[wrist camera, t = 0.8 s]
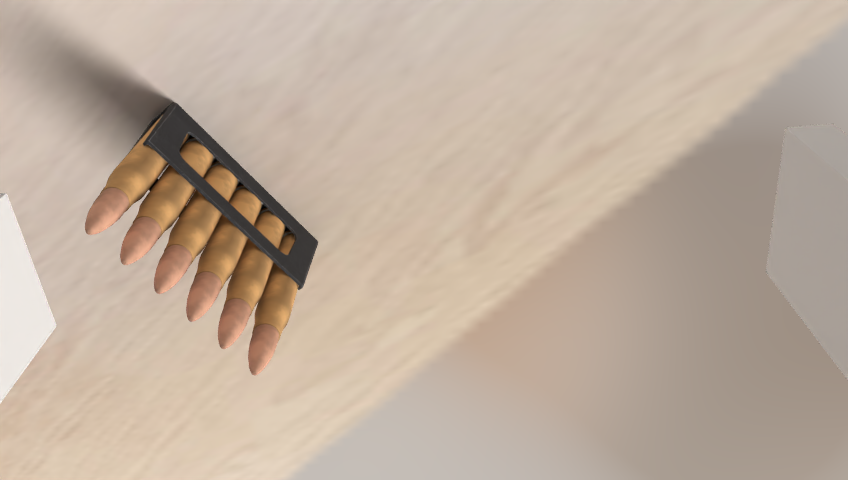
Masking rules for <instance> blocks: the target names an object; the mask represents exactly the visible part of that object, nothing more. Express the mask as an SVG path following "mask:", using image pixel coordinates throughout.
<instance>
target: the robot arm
mask: <svg viewBox="0 0 848 480" xmlns="http://www.w3.org/2000/svg"><path fill="white" fill-rule="evenodd" d="M766 273H767V274H768V276H769V277H770V278H771V279H772V281H773V282H774V283H775V284H776V286H777V287H778V289H779V290H780V291H781V293H782V294H783V295H784V297H785V298H786V299H787V301H788V302H789V303H790V305H791V306H792V307H793V309H794V310H795V311H796V313H797V314H798V315H799V316H800V318H801V319H802V320H803V322H804V323H805V324H806V326H807V327H808V328H809V330H810V331H811V332H812V334H813V335H814V336H815V338H816V339H817V340H818V342H819V343H820V344H821V345H822V347H823V348H824V349H825V351H826V352H827V353H828V355H829V356H830V357H831V358H832V360H833V361H834V363H835V364H836V365H837V366H838V368H839V369H840V371H841V372H842V373H843V375H844V376H845V377H846V379H847V380H848V135H847V134H846V133H845V132H843V131H842V130H841V129H839V128H838V127H837V126H835V125H834V124H823V125H812V126H799V127H787V128H785V134H784V142H783V149H782V156H781V163H780V171H779V178H778V186H777V193H776V200H775V208H774V216H773V223H772V231H771V238H770V245H769V252H768V260H767V268H766ZM56 326H57V325H56V323H55V320H54V318H53V315H52V312H51V310H50V307H49V304H48V302H47V299H46V296H45V294H44V291H43V288H42V286H41V283H40V280H39V278H38V275H37V272H36V270H35V267H34V264H33V262H32V259H31V256H30V254H29V251H28V249H27V246H26V243H25V241H24V238H23V235H22V233H21V230H20V227H19V225H18V222H17V219H16V217H15V214H14V211H13V209H12V206H11V203H10V201H9V198H8V195H7V193H0V403H1V402H2V400H3V399H4V398H5V396H6V395H7V393H8V392H9V391H10V389H11V388H12V387H13V385H14V384H15V382H16V381H17V380H18V378H19V377H20V376H21V374H22V373H23V371H24V370H25V369H26V367H27V366H28V365H29V363H30V362H31V360H32V359H33V358H34V356H35V355H36V354H37V352H38V351H39V350H40V348H41V347H42V345H43V344H44V343H45V341H46V340H47V339H48V337H49V336H50V334H51V333H52V332H53V330H54V329H55V328H56Z"/></svg>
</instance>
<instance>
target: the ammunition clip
mask: <svg viewBox="0 0 848 480" xmlns="http://www.w3.org/2000/svg"><path fill="white" fill-rule="evenodd" d="M168 164H170V165H169V166H168V167H167V169H166V170H165V172H164V173H163V174H162V176H161V177H160V179H159V180H158V179H157V178H158V177H159V175H160V174H161V173H162V171H163V170H164V169H165V167H166V166H167V165H168ZM148 190H150V192H149V194H148V195H147V196H146V198H145V199H144V201H143V202H142V203H141V205H140V208H139V212H138V215H137V217H136V218H135V220H134V221H133V224H132V226H131V227H130V229H129V230H128V232H127V234H126V236H125V238H124V241H123V244H122V248H121V254H120V258H121V262H122V264H124V265H128V264H131V263H133V262H135V261H137V260H138V259H140V258H141V257H143V256H144V255H145V254H146V253H147V252H148V251H149V250H150V249H151V248H152V247H153V245H154V244H155V243H156V241H157V240H158V239H159V238H160V237H161V235H162V234H163V233H164V231H166V230H167V229H168V228H170V227H171V226H172V225H173V223H174V222H175V221H176V220H177V218H178V217H179V219H178V220H177V222H176V224H175V225H174V227H173V229H172V230H171V233H170V237H169V241H168V244H167V246H166V248H165V250H164V253H163V255H162V257H161V259H160V261H159V263H158V266H157V269H156V273H155V278H154V288H155V291H156V293H158V294H161V293H164V292H166V291H168V290H169V289H171V288H172V287H173V286H174V285H175V284H176V283H177V282H178V281H179V280H180V279H181V278H182V276H183V275H184V274H185V272H186V271H187V269H188V267H189V266H190V265H191V263H192V262H193V260H194V259H195V257H196V256H197V255H199V254H200V253H201V251H202V250H203V249H204V248H205V249H204V250H203V252H202V254H201V257H200V259H199V263H198V270H197V273H196V275H195V278H194V281H193V284H192V286H191V288H190V292H189V295H188V299H187V307H186V312H187V317H188V320H189V321H191V322H193V321H195V320H197V319H199V318H200V317H202V316H203V315H204V314H205V313H206V312H207V311H208V309H209V308H210V307H211V306H212V304H213V303H214V301H215V300H216V298H217V296H218V294H219V292H220V290H221V289H222V287H223V285H224V284H225V282H226V281H227V280H228V278H229V277H230V276H231V275H232V277H231V279H230V281H229V284H228V288H227V298H226V301H225V304H224V309H223V311H222V314H221V318H220V322H219V327H218V340H219V344H220V347H221V348H222V349H226V348H228V347H229V346H231V345H232V344H233V343H234V342H235V341H236V340H237V338H238V337H239V336H240V335H241V333H242V331H243V330H244V328H245V326H246V324H247V322H248V319H249V317H250V315H251V313H252V311H253V309H254V307H255V305H256V304H257V303H258V305H257V308H256V311H255V325H254V328H253V332H252V333H253V335H252V338H251V341H250V346H249V354H248V360H249V368H250V371H251V373H252V375H257V374H259V373H260V372H261V371H262V370H263V369H264V368H265V367H266V365H267V364H268V363H269V361H270V360H271V358H272V356H273V354H274V351H275V349H276V346H277V343H278V341H279V338H280V336H281V333H282V331H283V329H284V328H285V326H286V325H287V323H288V320H289V317H290V314H291V310H292V307H293V303H294V300H295V296H296V293H297V289H298V290H300V289H301V288H303V286H304V283H305V280H306V277H307V274H308V271H309V268H310V265H311V262H312V259H313V256H314V253H315V251H316V248H317V245H318V241H317V240H316V239H315V238H314V237H313V236H312V235H311V234H310V233H309V232H308V231H307V230H306V229H305V228H304V227H303V226H302V225H301V224H300V223H299V222H298V221H297V220H296V219H295V218H294V217H293V216H291V215H290V214H289V213H288V212H287V211H286V210H285V209H284V208H283V207H282V206H281V205H280V204H279V203H278V202H277V201H276V200H275V199H274V198H273V197H272V196H271V195H270V194H269V193H268V192H267V191H266V190H265V189H264V188H263V187H262V186H261V185H260V184H259V183H258V182H257V181H256V180H255V179H254V178H253V177H252V176H251V175H250V174H249V173H248V172H247V171H245V170H244V169H243V168H242V167H241V166H240V165H239V164H238V163H237V162H236V161H235V160H234V159H233V158H232V157H231V156H230V155H229V154H228V153H227V152H226V151H225V150H224V149H223V148H222V147H221V146H220V145H219V144H218V143H217V142H216V141H215V140H214V139H213V138H212V137H211V136H210V135H209V134H208V133H207V132H206V131H205V130H204V129H203V128H202V127H201V126H200V125H198V124H197V123H196V122H195V121H194V120H193V119H192V118H191V117H190V116H189V115H188V114H187V113H186V112H185V111H184V110H183V109H182V108H181V107H180V106H179V105H178V104H176V103H171V104H170V105H169V106H168V107H167V108H166V109H165V110H164V111H163V112H162V113H161V114H160V115H159V116H157V117H156V118H155V119H154V120H153V121H152V122H151V123H150V124H149V126H148V127H147V129H146V130H145V131H144V133H143V134H142V136H141V137H140V138H139V140H138V141H137V142H136V144H135V145H134V147H133V148H132V149H131V151H130V152H129V154H128V155H127V156H126V157H125V158H124V159H123V160H122V162H121V163H120V164H119V165H118V166H117V167H116V168H115V170H114V171H113V172H112V174H111V175H110V176H109V178H108V181H107V184H106V186H105V188H104V189H103V190H102V192H101V193H100V195H99V196H98V198H97V199H96V200H95V202H94V203H93V205H92V207H91V208H90V210H89V213H88V215H87V219H86V223H85V230H86V233H87V234H89V235H92V234H97V233H100V232H101V231H103V230H105V229H107V228H108V227H110V226H111V225H113V224H114V223H115V222H116V221H117V220H118V219H119V218H120V217H121V216H122V215H123V213H124V212H126V211H127V210H128V209H129V208H130V207H131V206H132V204H134V203H135V202H137V201H138V200H140V199H141V198H142V197H143V196H144V195H145V193H146V192H147V191H148ZM195 190H196V191H195ZM194 191H195V192H194ZM193 193H194V194H193ZM192 195H193V196H192ZM191 196H192V197H191ZM190 198H191V199H190ZM189 199H190V201H189ZM188 201H189V202H188ZM187 202H188V204H187ZM186 204H187V206H186ZM206 244H207V245H206ZM205 246H206V247H205ZM298 285H299V286H298Z"/></svg>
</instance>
